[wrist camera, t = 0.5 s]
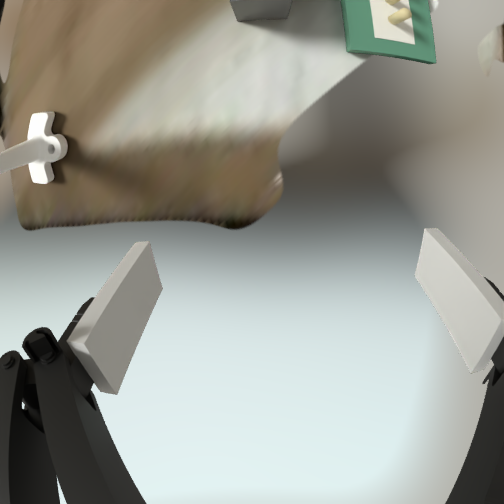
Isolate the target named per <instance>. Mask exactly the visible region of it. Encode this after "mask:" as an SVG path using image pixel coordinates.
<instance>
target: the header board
mask: <svg viewBox="0 0 504 504" xmlns="http://www.w3.org/2000/svg"><path fill="white" fill-rule="evenodd" d="M341 6H342V13H343V21H344V30H345V39H346V49H347V52H353V53H364V54H373V55H381V56H388V57H395V58H401V59H406V60H412V61H417V62H422V63H427V64H433V63H436V56H435V45H434V36H433V29H432V22H431V17H430V10H429V5H428V0H341Z"/></svg>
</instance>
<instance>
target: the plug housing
mask: <svg viewBox="0 0 504 504" xmlns="http://www.w3.org/2000/svg"><path fill="white" fill-rule="evenodd" d="M230 3H231V6H232V8H233V11H234V13H235V16H236V19H237V21H249V20H263V19H287V18H288V14H289V10H290V7H291V3H292V0H230Z"/></svg>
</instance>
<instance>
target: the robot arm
mask: <svg viewBox="0 0 504 504" xmlns="http://www.w3.org/2000/svg"><path fill="white" fill-rule="evenodd" d="M415 278H416V279H417V281H418V282H419V284H420V285H421V287H422V288H423V290H424V292H425V293H426V295H427V296H428V298H429V300H430V301H431V303H432V304H433V306H434V308H435V309H436V311H437V313H438V314H439V316H440V318H441V319H442V321H443V323H444V325H445V326H446V328H447V330H448V332H449V333H450V335H451V337H452V339H453V341H454V342H455V344H456V346H457V348H458V350H459V352H460V354H461V355H462V357H463V359H464V361H465V363H466V365H467V367H468V369H469V371H470V373H471V374H472V373H475V372H478V371H481V370H484V369H485V368H486V366H487V364H488V363H489V361H490V360H491V359H492V361H493V363H494V366H493V367H492V369H491V370H490V372H489V373H488V375H487V376H486V378H485V379H484V381H483V384H485V382H486V381H487V380H488V379H489V382H488V385H487V391H486V395H485V399H484V403H483V407H482V411H481V414H480V418H479V421H478V425H477V428H476V431H475V434H474V437H473V440H472V443H471V446H470V449H469V451H468V454H467V457H466V459H465V462H464V464H463V467H462V469H461V472H460V474H459V476H458V478H457V481H456V483H455V485H454V487H453V489H452V492H451V493H450V496H449V498H448V500H447V501H446V503H445V504H504V296H503V294H502V293H501V292H499V289H498V288H497V287H496V286H495V285H494V283H492V282H491V281H490V280H488V279H487V278H485V277H483V276H482V275H481V274H480V273H479V272H478V270H477V269H476V268H475V267H474V266H473V265H472V264H471V263H470V261H469V260H468V259H467V258H466V257H465V256H464V255H463V254H462V253H461V252H460V251H459V250H458V249H457V248H456V247H455V246H454V245H453V244H452V243H451V241H450V240H449V239H448V238H447V237H446V236H444V235H443V233H442V232H441V231H439V230H438V229H437V228H425V230H424V235H423V240H422V245H421V250H420V255H419V259H418V264H417V268H416V272H415ZM162 289H163V288H162V285H161V282H160V278H159V274H158V271H157V267H156V264H155V260H154V257H153V253H152V249H151V245H150V242H149V241H146V242H136V243H134V245H133V246H132V247H131V249H130V250H129V251H128V253H127V254H126V255H125V257H124V258H123V259H122V261H121V262H120V263H119V265H118V266H117V267H116V269H115V270H114V271H113V273H112V274H111V276H110V277H109V279H108V280H107V281H106V282H105V284H104V285H103V287H102V288H101V290H100V291H99V293H98V294H97V295H96V297H95V298H93V297H92V298H90V299H89V300H88V301H87V302H85V303H84V304H83V305H82V307H81V308H80V309H79V311H78V312H77V315H75V317H74V318H73V320H72V322H71V323H70V324H69V326H68V327H67V329H66V330H65V332H64V333H63V335H62V336H61V338H60V340H59V341H58V342H57V340H56V338H55V337H54V335H53V333H52V332H51V330H50V329H48V328H46V327H41V328H37V329H35V330H33V331H32V332H31V333H29V334H28V335H27V336H26V338H25V339H24V341H23V344H22V347H23V349H24V350H25V352H26V353H27V355H28V356H29V358H30V359H26V360H24V359H23V358H22V357H21V355H20V354H19V352H17V351H9V352H7V353H5V354H4V355H2V357H1V358H0V504H60V499H59V493H58V486H57V478H58V481H59V484H60V486H61V489H62V492H63V494H64V497H65V500H66V503H67V504H146V502H145V501H144V499H143V498H142V496H141V494H140V492H139V491H138V489H137V487H136V485H135V484H134V482H133V480H132V478H131V476H130V474H129V472H128V471H127V469H126V467H125V465H124V463H123V461H122V459H121V457H120V455H119V453H118V451H117V449H116V446H115V444H114V442H113V440H112V438H111V435H110V433H109V431H108V429H107V426H106V424H105V421H104V419H103V417H102V414H101V412H100V409H99V407H98V404H97V401H96V398H95V396H94V394H93V392H92V391H91V388H92V385H93V383H95V385H96V386H97V388H98V389H99V390H100V392H105V393H110V394H115V395H117V394H118V391H119V389H120V386H121V384H122V381H123V378H124V376H125V374H126V371H127V369H128V366H129V364H130V361H131V359H132V356H133V354H134V352H135V349H136V347H137V345H138V342H139V340H140V338H141V336H142V333H143V331H144V329H145V326H146V324H147V322H148V320H149V317H150V315H151V313H152V310H153V308H154V306H155V304H156V302H157V300H158V297H159V295H160V293H161V291H162ZM22 402H23V403H24V404H25V407H24V409H22Z"/></svg>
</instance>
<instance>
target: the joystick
mask: <svg viewBox="0 0 504 504" xmlns="http://www.w3.org/2000/svg"><path fill="white" fill-rule="evenodd" d="M54 117H55V113H54V112H53V111H51V112H39V113H35V114H33V115H32V117H31V121H30V125H29V131H28V140H27V141H25V142H22V143H20V144H18V145H16V146H13V147H11V148H9V149H7V150H5V151H3V152H0V174H2V173H4V172H7V171H9V170H12V169H15V168H18V167H20V166H23V165H26V164H29V169H30V174H31V177H32V181H33V182H34V183H41V184H47V183H48V182H50V181H52V180H54V174H53V171H52V167H51V162H55V161H57V160H60V159H62V158H63V157H64V156H65V155H66V153H67V149H68V145H67V141H66V139H65V137H64V136H63V135H61V134H56V135H54V134H53V133H52V131H51V127H52V123H53V120H54Z"/></svg>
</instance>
